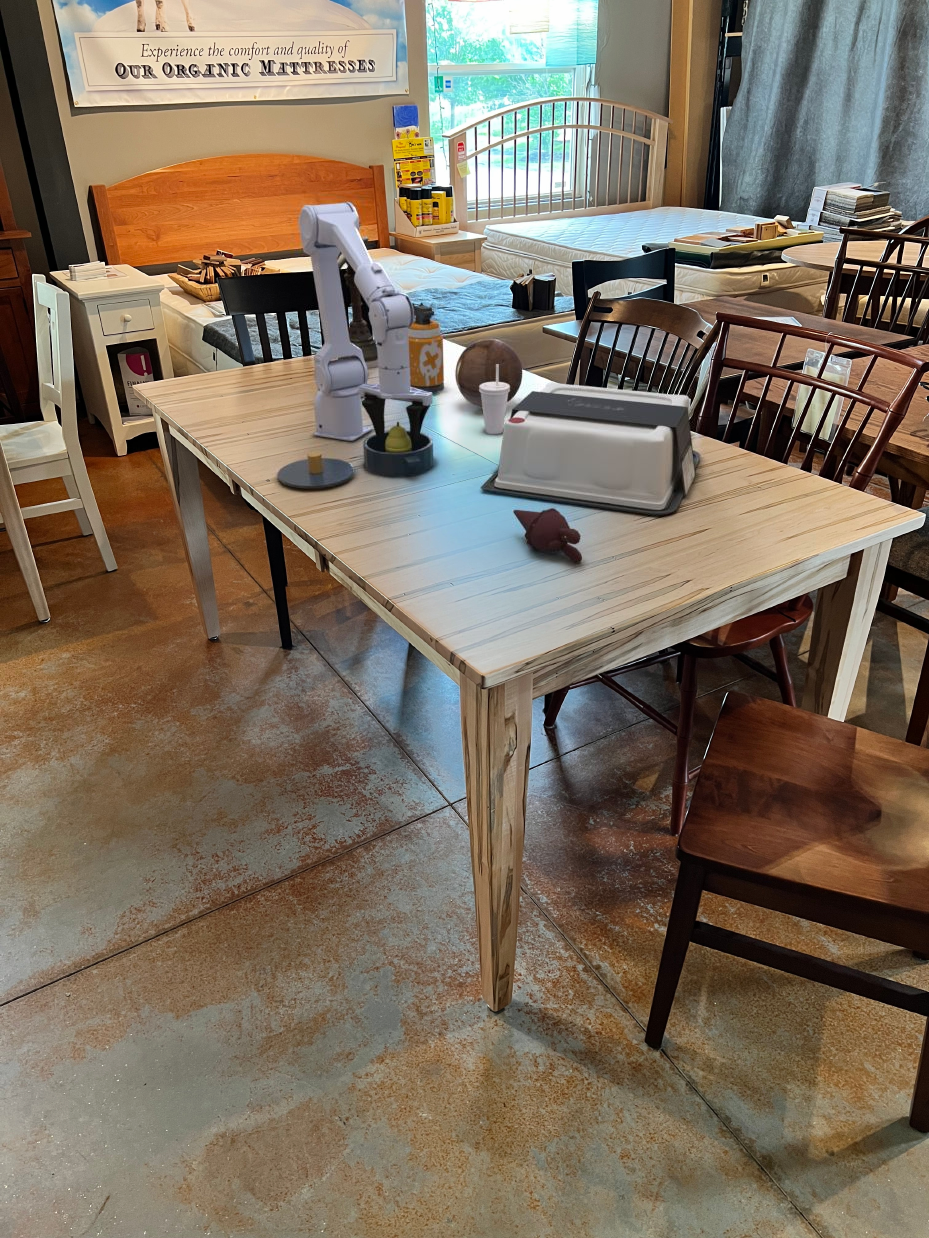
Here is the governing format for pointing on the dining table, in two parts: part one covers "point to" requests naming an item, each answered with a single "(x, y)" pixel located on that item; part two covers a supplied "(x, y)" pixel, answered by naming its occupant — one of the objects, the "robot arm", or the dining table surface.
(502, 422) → the smoothie
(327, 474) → the lid
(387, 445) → the pear
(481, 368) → the wooden sphere
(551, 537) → the icecream
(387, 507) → the dining table surface
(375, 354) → the dark brown tall piece
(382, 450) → the pan
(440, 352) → the canister
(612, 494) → the cake box
